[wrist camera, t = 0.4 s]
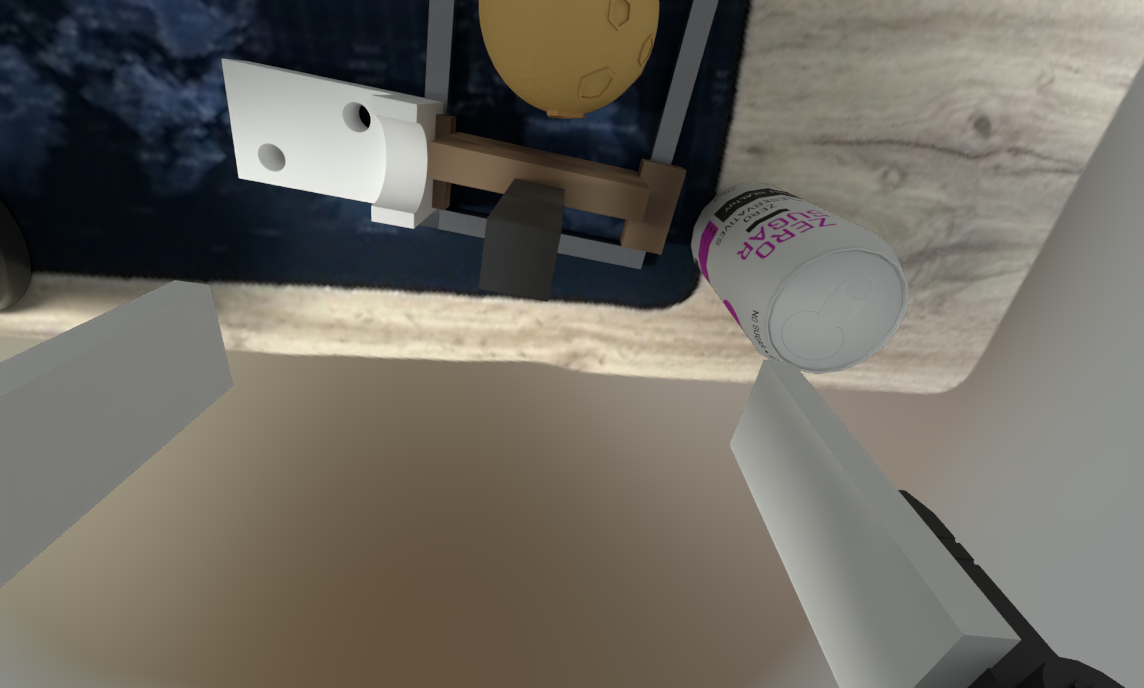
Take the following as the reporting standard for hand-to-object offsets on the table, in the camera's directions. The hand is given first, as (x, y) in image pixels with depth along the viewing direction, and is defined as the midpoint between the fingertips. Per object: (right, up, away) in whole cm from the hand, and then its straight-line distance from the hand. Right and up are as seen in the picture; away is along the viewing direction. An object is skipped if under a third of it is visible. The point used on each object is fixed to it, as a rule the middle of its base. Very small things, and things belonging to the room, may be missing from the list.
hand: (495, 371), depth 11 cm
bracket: (-14, +16, +22) cm, 31 cm away
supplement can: (+15, +9, +25) cm, 31 cm away
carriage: (0, +13, +23) cm, 26 cm away
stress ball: (+2, +21, +19) cm, 29 cm away
